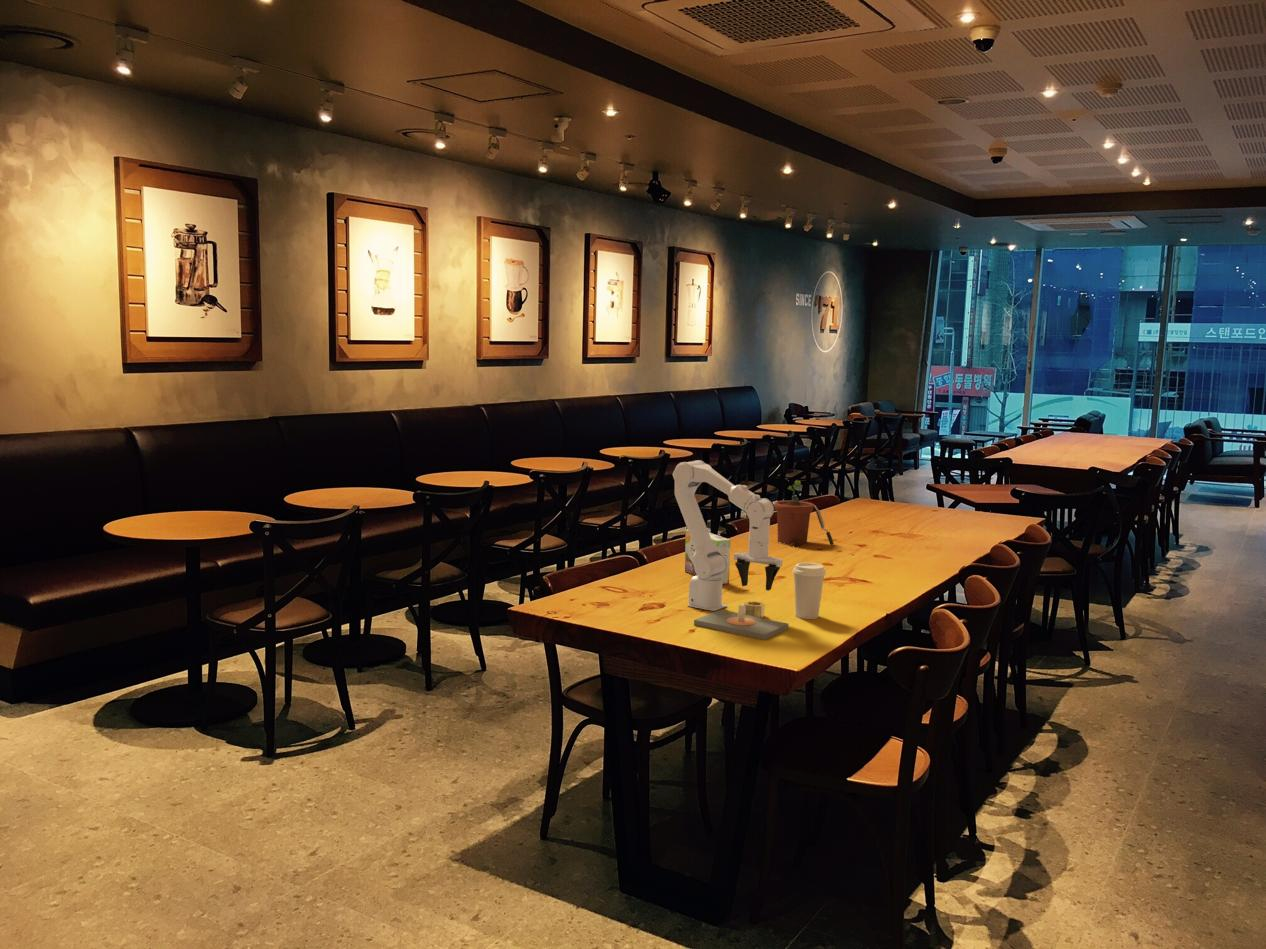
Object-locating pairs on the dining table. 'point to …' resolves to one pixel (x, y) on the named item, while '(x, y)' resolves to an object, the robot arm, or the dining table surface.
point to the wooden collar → (754, 609)
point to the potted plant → (796, 520)
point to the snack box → (716, 540)
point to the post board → (741, 624)
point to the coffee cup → (808, 589)
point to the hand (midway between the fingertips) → (756, 587)
